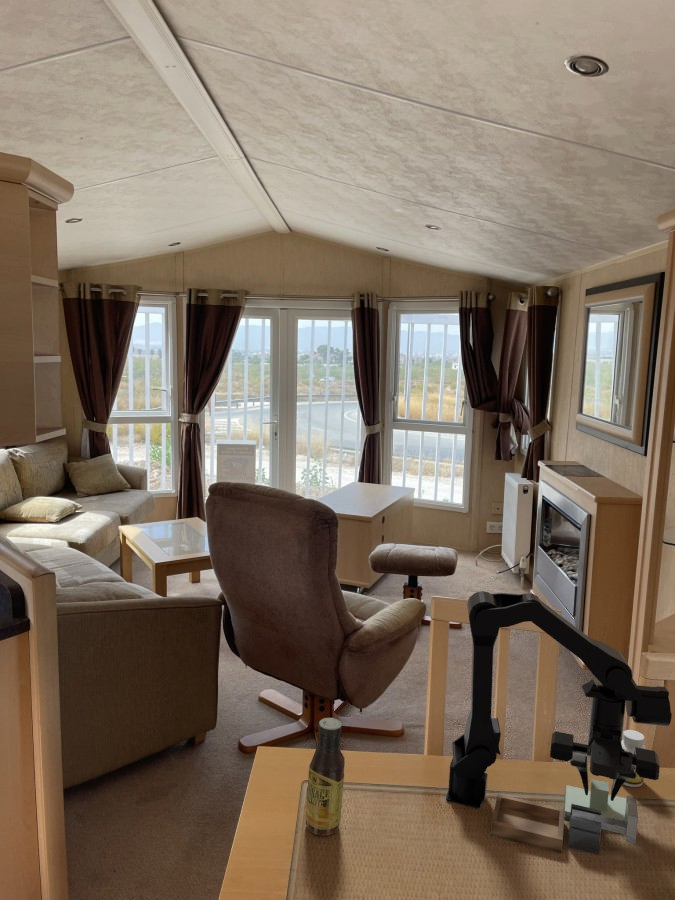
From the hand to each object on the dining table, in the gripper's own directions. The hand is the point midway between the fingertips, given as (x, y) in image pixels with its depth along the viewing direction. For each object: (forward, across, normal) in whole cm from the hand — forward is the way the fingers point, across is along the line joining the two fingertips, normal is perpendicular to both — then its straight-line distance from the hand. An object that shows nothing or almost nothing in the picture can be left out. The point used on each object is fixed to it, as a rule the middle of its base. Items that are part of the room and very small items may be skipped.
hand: (599, 796), depth 137 cm
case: (+3, -12, -10) cm, 16 cm away
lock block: (+3, -2, -10) cm, 11 cm away
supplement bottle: (+3, +6, +13) cm, 15 cm away
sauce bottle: (+3, -46, -24) cm, 52 cm away
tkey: (-1, 0, -11) cm, 11 cm away
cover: (+2, 0, 0) cm, 2 cm away
